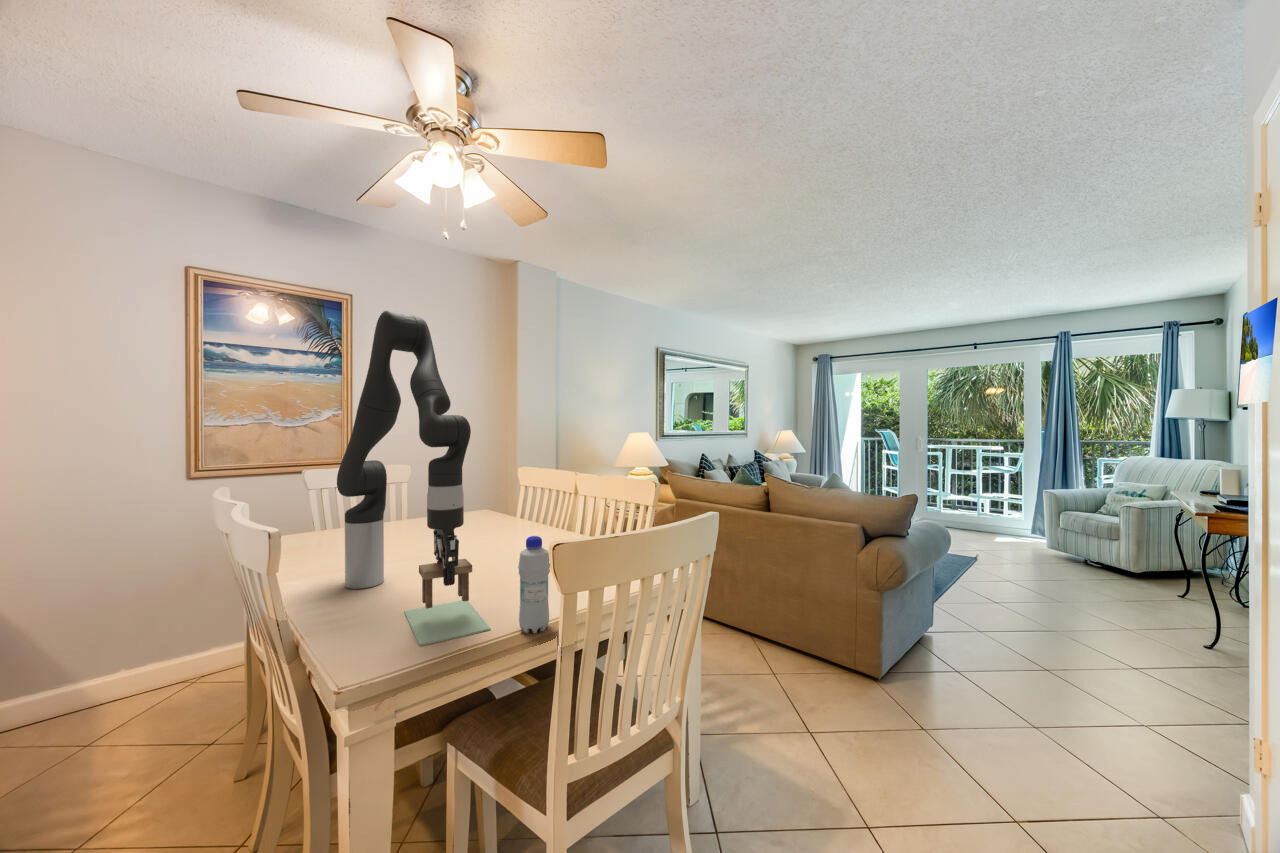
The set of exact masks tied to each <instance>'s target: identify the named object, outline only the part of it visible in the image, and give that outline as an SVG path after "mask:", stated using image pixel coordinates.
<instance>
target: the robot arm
mask: <svg viewBox="0 0 1280 853" xmlns="http://www.w3.org/2000/svg"><path fill="white" fill-rule="evenodd" d="M375 325H376V326H375V329H374V335H373V342H372V347H371V353H370V358H369V359H370V360H369V364H368V369H367V373H366V378H365V381H364V385H363V388H362V392H361V393H360V394H361V395H360V398H359V402H358V406H357V409H356V414H355V415H356V416H355V420H354V423H353V427H352V431H351V433H350V438H349V440H348V441H349V442H348V444H347V447H346V449H345V452H344V454H343V457H342V459H341V462H340V465H339V468H338V471H337V476H336V487H337V491H338V493H339V494H340V495H341V496H343V497H345V498H347V497H348V498H350V497H351V498H352V497H360V496H361V497H362V496H363V499H362V500H361V501H360V502H359V503H357V504H356V505H355V506H353V507H351V508H349V509H347V510H346V511H345V513H344V587H345V588H347V589H352V590H358V589H367V588H372V587H376V586H379V585H381V584H382V583H384V581H385V575H384V574H385V571H384V568H385V558H384V557H385V552H384V551H385V549H384V548H385V547H384V546H385V545H384V541H385V538H384V536H385V535H384V534H385V533H384V531H385V529H384V528H385V527H384V518H385V516H384V515H385V514H384V513H385V510H386V504H387V503H386V501H387V485H388V482H387V481H388V477H387V469H386V467H385V465H384V464H383V462H381V461H380V460H375V459H374V460H366V459H367V457H368V455H369V454H370V452H371V451H372V449H373V448H374V447H376V445H377V444H378V443H380V441H381V440H382V439H383V438H384V437H385V436H387V434H388V433H389V432H390V431H391V430H392V429H393V428H394V426H395V424H396V422H397V419H398V414H399V411H400V407H401V404H402V398H401V394H400V391H399V388H398V386H397V384H396V381H395V379H394V376H393V374H392V370H391V357H392V352H393V351H399V352H405V353H406V352H407V353H412V354H413V355H414V356H415V357H416V359H417V362H416V365H415V367H414V369H413V372H411V373H412V374H411V375H410V379H409V385H410V391H411V394H412V396H413V399H414V402H415V404H416V407H417V411H418V425H419V426H418V436H419V439H420V441H422V442H421V443H423V444H424V445H425V446H427V447H429V448H447V451H446V453H445V454H444V455H443V456H439V457H435V458H433V459H431V460H430V461H429V463H428V467H427V469H428V470H427V471H428V473H427V474H428V475H427V476H428V478H427V480H428V481H427V482H428V484H427V485H428V486H427V495H426V503H427V504H426V513H427V514H426V516H427V517H426V522H427V523H426V526H427V528H429V529H431V530H433V532H432V533H433V541H434V542H433V548H434V549H433V554H434V557H435V560H436V563H439V562H443V577H440V578H443V581H442V582H443V585H444V586H445V587H448V586H452V585H455V583H456V578H455V577H456V575H455V567H456V566H458V560H459V548H460V546H459V544H460V541H459V539H458V538H457V537H458V536H457V535H455V529H457V528H460V527H462V526H463V525H464V523H465V522H464V521H465V520H464V515H465V513H464V510H465V509H464V505H465V504H464V488H463V465H464V462H465V461H464V460H465V457H466V453H467V450H468V446H469V443H470V440H471V434H472V432H471V425H470V423H469V420H468V419H467V418H466V417H465V416H464V415H459V414H458V415H457V414H446V413H447V412H448V411H449V410H450V408H451V404H452V403H451V399H450V397H449V395H448V393H447V390H446V386H445V385H444V383H443V380H442V378H441V376H440V375H441V374H440V372H439V369H438V364H437V360H436V359H437V358H436V354H435V349H434V344H433V340H432V336H431V332H430V328H429V326H428V324H427V322H426V320H425V319H424V318H422V317H420V316H417V315H414V314H413V315H412V314H408V313H404V312H399V311H395V310H389V309H387V310H384V311H382V312H381V313H380V315H379V316H378V319H377V321H376V324H375ZM450 558H451V560H449V559H450ZM449 561H450V562H449ZM440 578H439V579H440Z"/></svg>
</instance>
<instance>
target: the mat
mask: <svg viewBox="0 0 1280 853" xmlns="http://www.w3.org/2000/svg"><path fill="white" fill-rule="evenodd" d="M403 612H404V615H405V617H407V618H406V619H407V621H408V623H409V626H410V628H411V631H412V633H413V634H414V637H415V639H416V642H417V643H418V646H419V647H423V646H427V645H431V644H436V643H441V642H444V641H445V642H446V641H449V640H454V639H457V638H462V637H466V636H470V635H474V634H479V633H484V631H485V632H488V631H491V627H490V626H489V624H488V623H487V622H486V621H485V619H484V618H483V617H482V616H481V615H480V614H479V612H478V611H477V610H476V609H475V607H474V606H473V605H472V604H471V603H470V602H469V601H464V602H463V601H462V599H461V600H455V601H451V602H445V603H440V604H435V605H434V604H432V608H428V609H426V607H425V606H423V607H419V608H413V609H408V610H404V611H403Z"/></svg>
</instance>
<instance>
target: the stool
mask: <svg viewBox="0 0 1280 853" xmlns="http://www.w3.org/2000/svg"><path fill="white" fill-rule="evenodd" d="M450 561H451V560H449V562H450ZM470 573H473V565H472V563H471V562H470V561H469V560H467V558H460V559H459V558H458V566H456V567H455V576H457V596H458V597H461V600H462V601H463V602H464V601H468V602H469V601H470V596H469V595H470V594H469V592H470V591H469V590H470V577H469V576H470ZM418 574H419V575H420V576H421V579H422V580H421V581H422V582H421V584H422V585H421V587H422V589H421V590H422V591H421V592H422V595H421V598H422V599H421V600H422V603H423V604H425V605H424V607H426V609H428V608H432V606H433V580H434V579H440V577H441V578H443V562H439V563H437V562H433V563H426V564H425V563H424V564H420V565H419V564H418Z"/></svg>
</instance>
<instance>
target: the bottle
mask: <svg viewBox="0 0 1280 853" xmlns="http://www.w3.org/2000/svg"><path fill="white" fill-rule="evenodd" d="M525 540H526V541H525V549H523V550H521V551H520V553H519V558H518V559H519V561H518V566H517V568H518V574H519V577H520V578H519V612H518V623H519V627H520V630H522V631H523V632H524V633H526V634H529V633H530V630H531V631H532V633H533V634H537V633H538V630H539V631H540V633H542V632H544V631H545V630H546V628H547V627H548V625H549V622H550V607H549V574H550V572H551V571H550V570H551V569H550V568H551V562H550V563H549V561H550V554H549V550H548V549H546V548H544V547H543V539H542V537H540V536H538V535H532V536H528V537H527V538H526V539H525Z"/></svg>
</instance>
